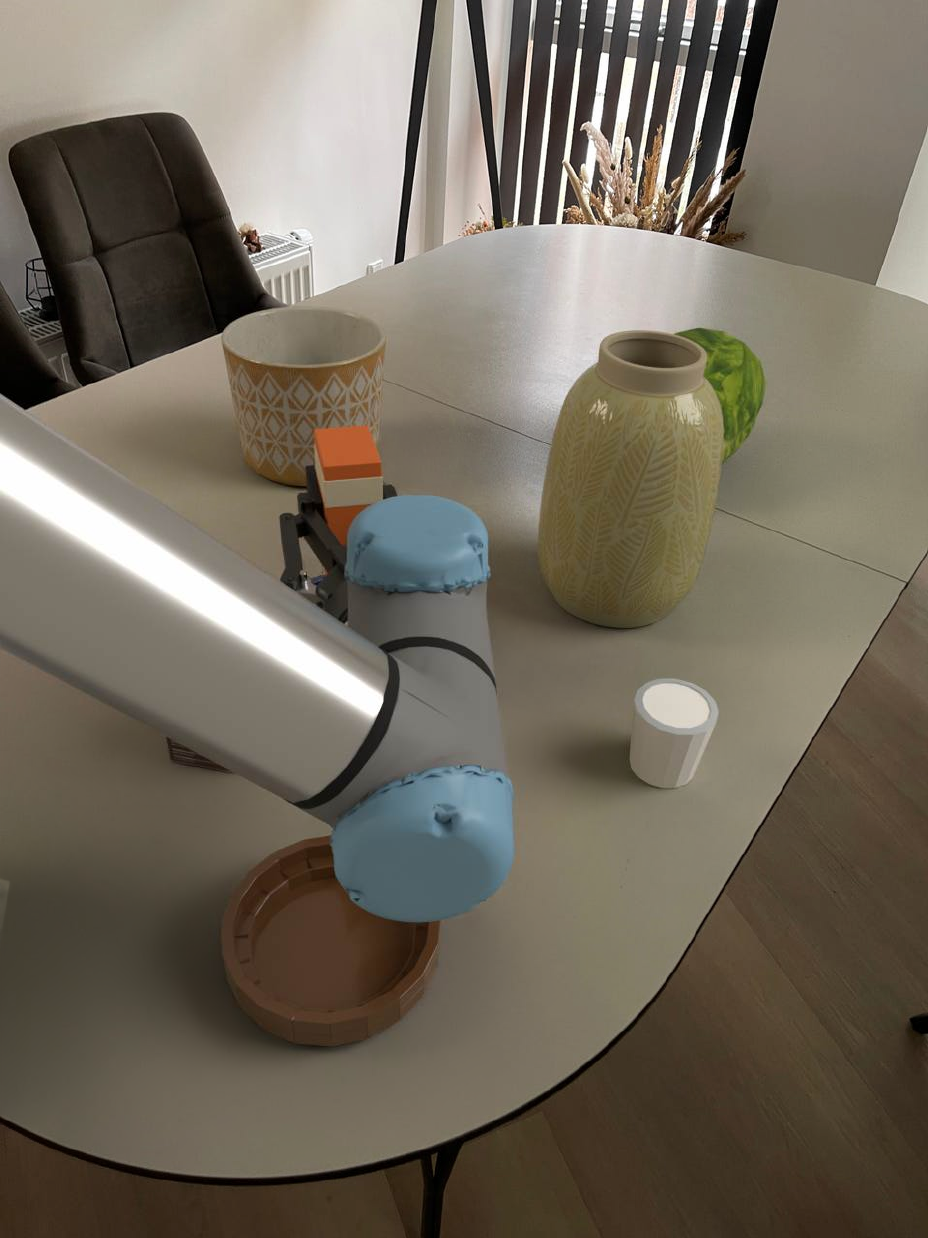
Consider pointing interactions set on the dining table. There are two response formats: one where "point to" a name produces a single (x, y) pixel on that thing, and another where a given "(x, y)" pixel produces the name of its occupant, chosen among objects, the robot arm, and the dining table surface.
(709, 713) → the white cylinder
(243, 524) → the dining table surface
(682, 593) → the vase
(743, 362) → the lettuce
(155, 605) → the robot arm
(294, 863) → the bowl
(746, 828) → the dining table surface
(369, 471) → the packet
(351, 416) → the planter
